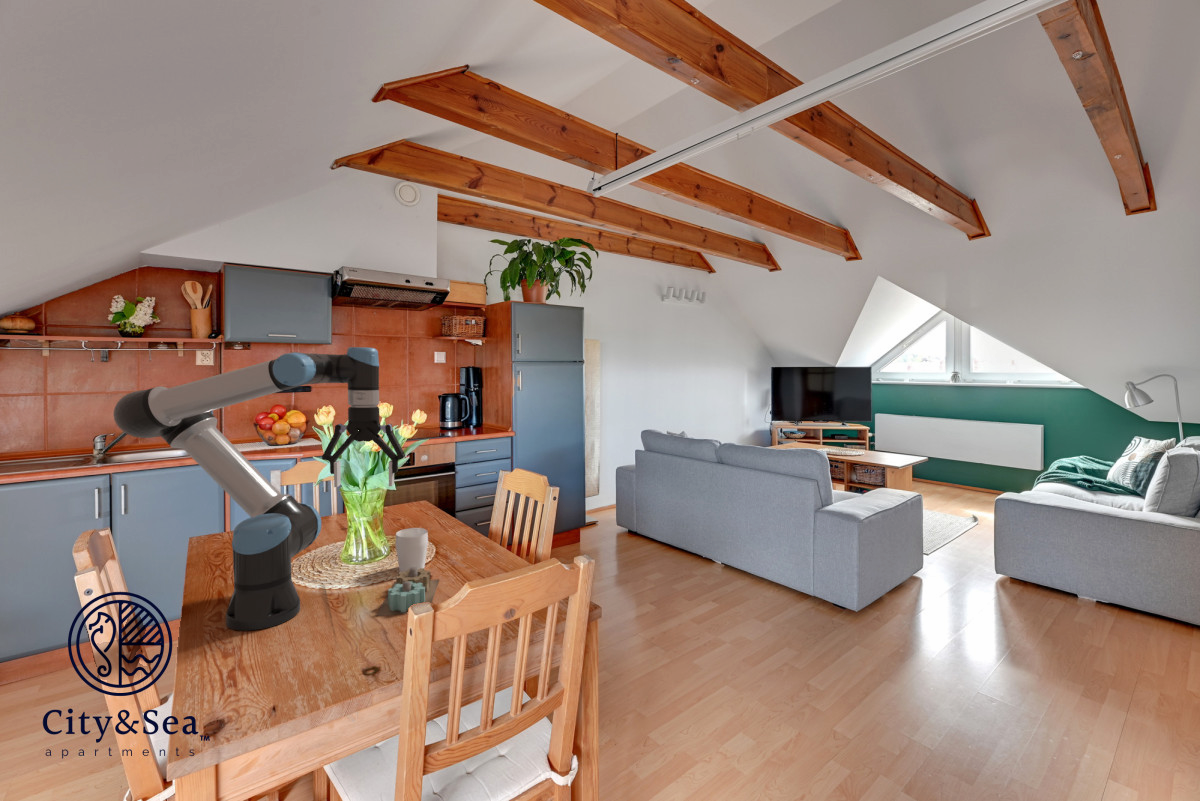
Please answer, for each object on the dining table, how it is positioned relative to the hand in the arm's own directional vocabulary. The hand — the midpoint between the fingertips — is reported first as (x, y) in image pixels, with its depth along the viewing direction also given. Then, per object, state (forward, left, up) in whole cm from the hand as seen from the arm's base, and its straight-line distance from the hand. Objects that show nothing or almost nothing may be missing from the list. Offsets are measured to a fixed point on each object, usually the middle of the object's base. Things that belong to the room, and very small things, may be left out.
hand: (364, 485), depth 140 cm
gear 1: (+13, -3, -28) cm, 30 cm away
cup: (+10, +11, -29) cm, 33 cm away
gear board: (+13, -8, -29) cm, 32 cm away
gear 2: (+13, -12, -28) cm, 33 cm away
